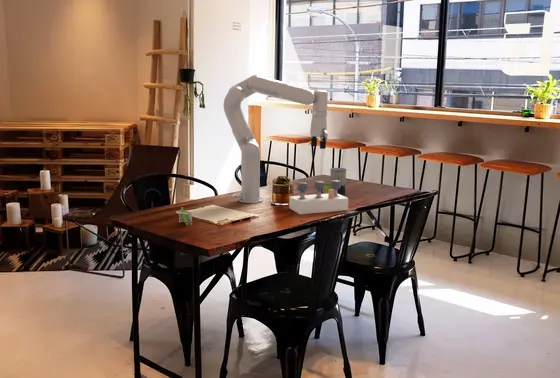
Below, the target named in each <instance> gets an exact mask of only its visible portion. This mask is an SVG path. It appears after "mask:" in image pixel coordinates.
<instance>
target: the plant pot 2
mask: <svg viewBox="0 0 560 378" xmlns="http://www.w3.org/2000/svg"><path fill="white" fill-rule="evenodd" d="M329 189H332V188H330V182H324V190H322V192H323V193H324V194H328V192H329ZM337 191H338V189H337Z"/></svg>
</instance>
